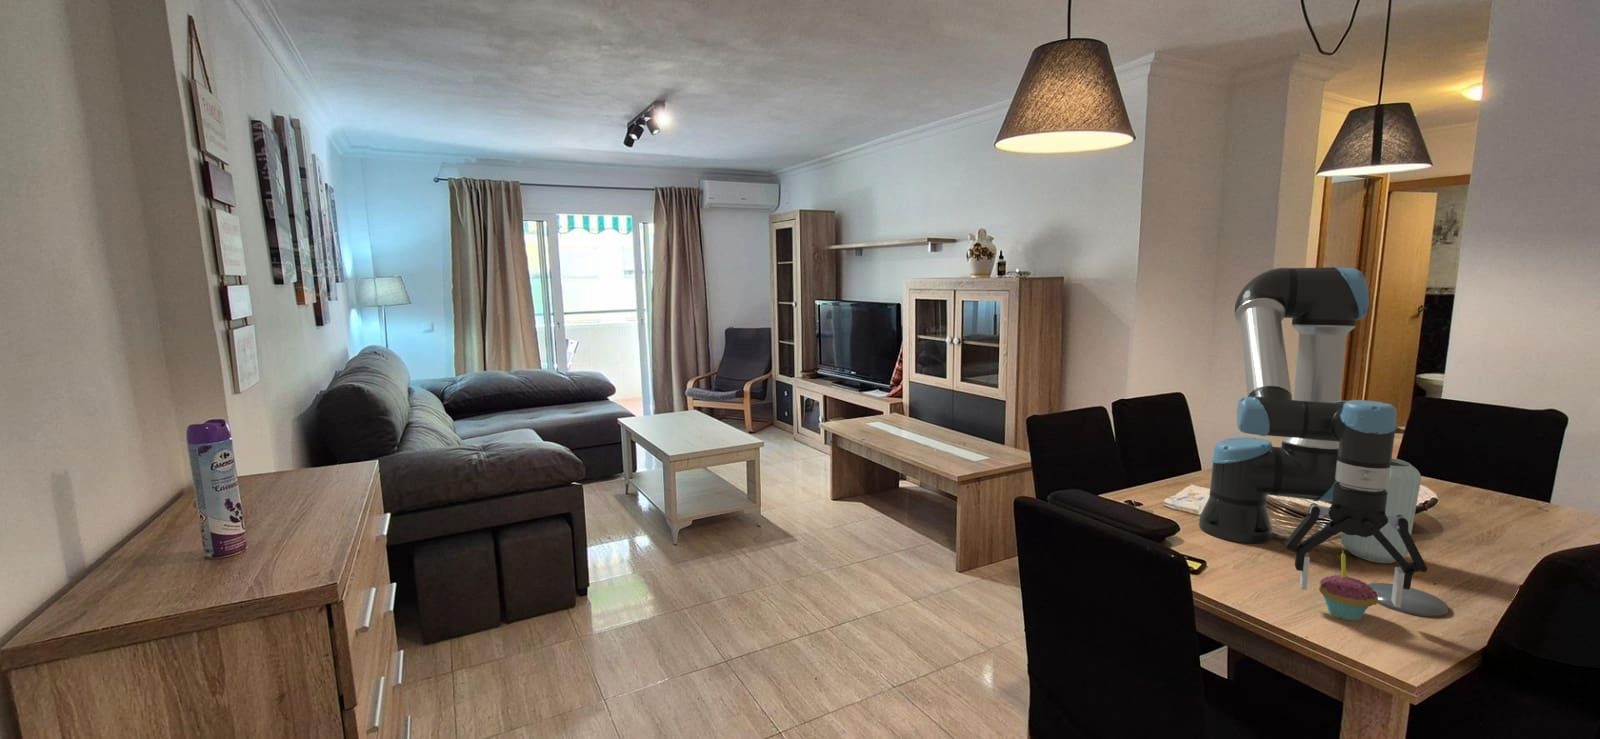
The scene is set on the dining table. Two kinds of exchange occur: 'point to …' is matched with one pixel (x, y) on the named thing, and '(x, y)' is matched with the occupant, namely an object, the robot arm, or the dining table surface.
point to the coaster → (1411, 601)
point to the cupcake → (1347, 594)
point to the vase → (1398, 503)
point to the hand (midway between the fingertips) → (1348, 595)
